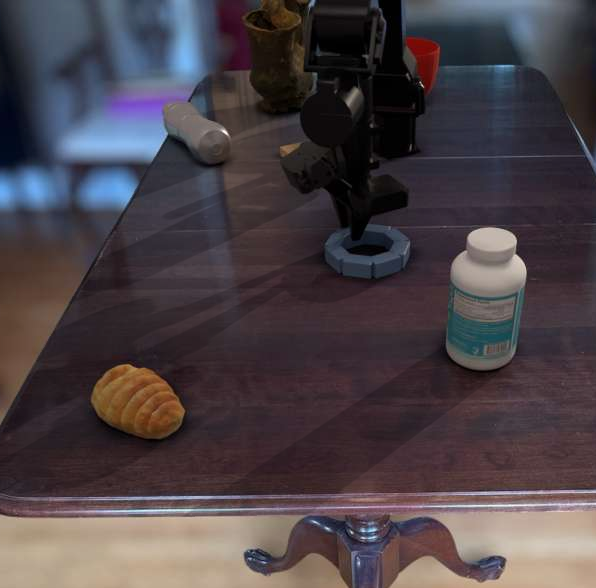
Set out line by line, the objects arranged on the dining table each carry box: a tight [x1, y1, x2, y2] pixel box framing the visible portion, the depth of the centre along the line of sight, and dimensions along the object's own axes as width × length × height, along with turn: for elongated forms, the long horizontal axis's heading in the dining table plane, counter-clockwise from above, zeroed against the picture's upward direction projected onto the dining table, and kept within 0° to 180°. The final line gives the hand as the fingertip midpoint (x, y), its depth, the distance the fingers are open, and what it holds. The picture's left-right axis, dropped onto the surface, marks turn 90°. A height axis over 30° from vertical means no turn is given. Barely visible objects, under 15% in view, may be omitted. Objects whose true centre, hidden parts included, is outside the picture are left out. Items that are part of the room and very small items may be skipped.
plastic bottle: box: [161, 100, 232, 166], centre depth 118 cm, size 6×7×20 cm
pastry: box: [90, 363, 186, 440], centre depth 68 cm, size 9×7×4 cm
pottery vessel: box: [241, 0, 315, 114], centre depth 130 cm, size 25×11×20 cm, turn 175°
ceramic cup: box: [406, 36, 441, 104], centre depth 134 cm, size 13×17×10 cm
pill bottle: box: [445, 227, 527, 371], centre depth 72 cm, size 8×7×14 cm
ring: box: [323, 223, 411, 280], centre depth 91 cm, size 10×10×2 cm
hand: (351, 236), depth 94 cm, fingers closed on ring, 2 cm apart
